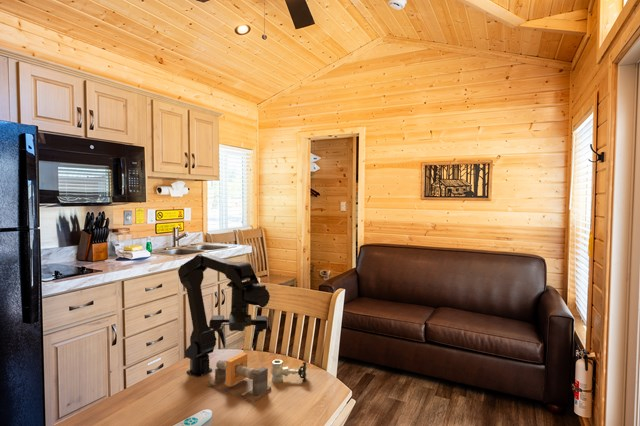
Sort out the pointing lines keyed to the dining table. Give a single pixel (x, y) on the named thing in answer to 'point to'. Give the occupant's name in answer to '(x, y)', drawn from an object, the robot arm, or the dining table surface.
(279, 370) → the valve
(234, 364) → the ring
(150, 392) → the dining table surface
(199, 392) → the dining table surface
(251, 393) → the pipe stand
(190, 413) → the dining table surface
